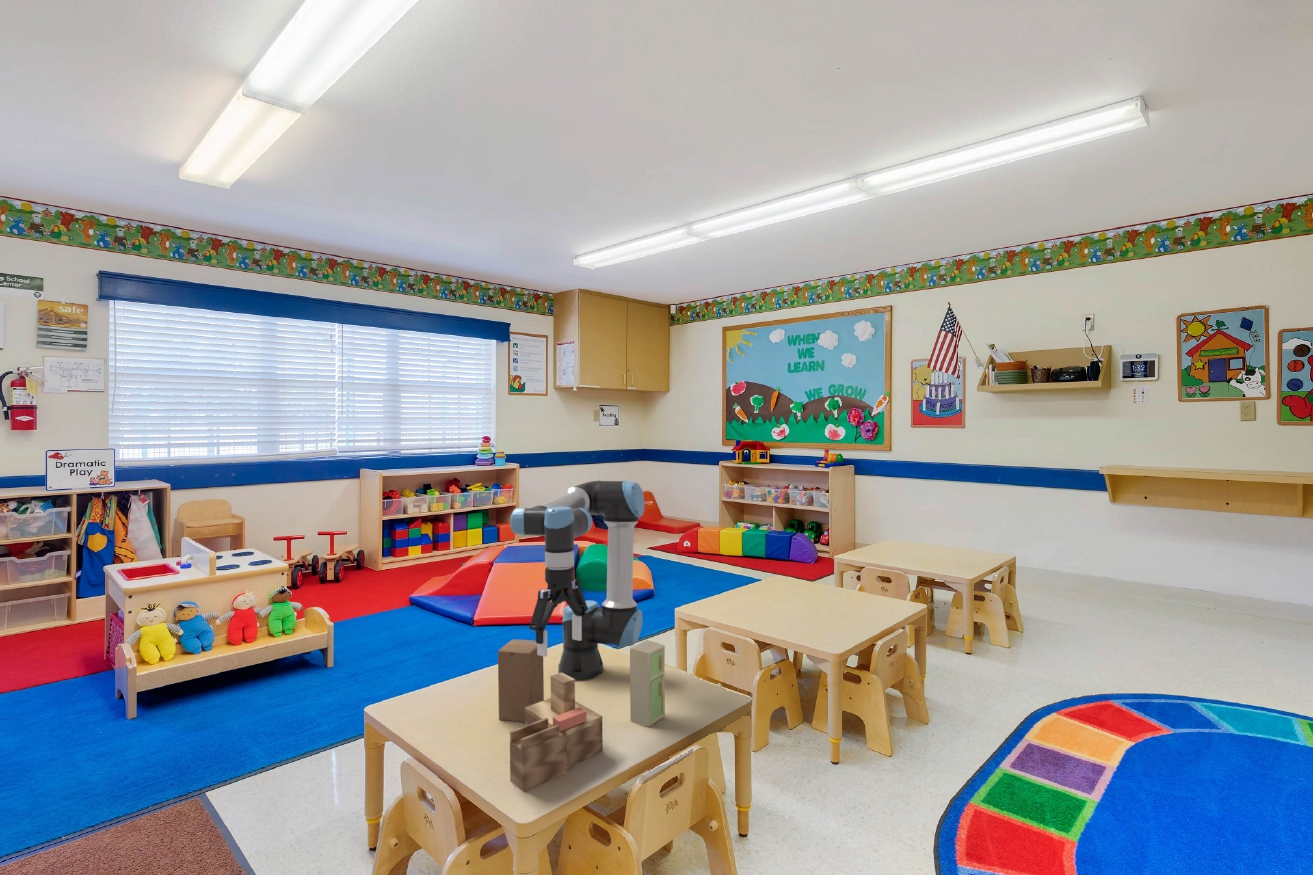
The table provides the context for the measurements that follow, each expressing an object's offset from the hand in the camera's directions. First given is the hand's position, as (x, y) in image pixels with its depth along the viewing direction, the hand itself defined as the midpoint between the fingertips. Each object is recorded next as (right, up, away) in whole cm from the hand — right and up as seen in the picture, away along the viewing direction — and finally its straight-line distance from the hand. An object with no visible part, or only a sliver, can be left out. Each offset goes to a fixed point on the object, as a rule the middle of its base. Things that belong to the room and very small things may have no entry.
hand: (560, 647), depth 165 cm
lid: (+1, -18, -1) cm, 18 cm away
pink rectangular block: (+4, -16, -8) cm, 19 cm away
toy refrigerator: (+23, -25, +14) cm, 37 cm away
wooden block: (-14, -26, +18) cm, 34 cm away
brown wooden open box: (-3, -26, -5) cm, 27 cm away
